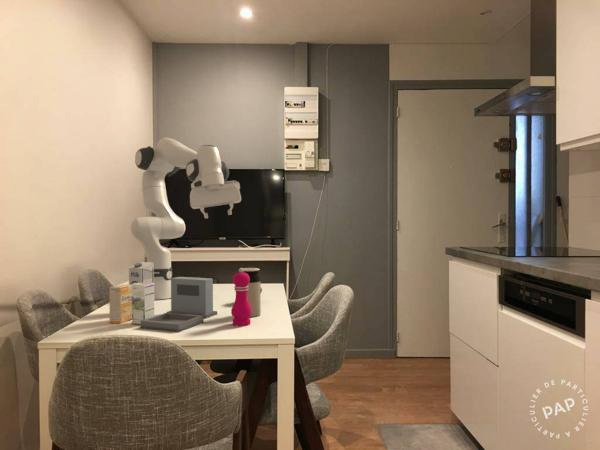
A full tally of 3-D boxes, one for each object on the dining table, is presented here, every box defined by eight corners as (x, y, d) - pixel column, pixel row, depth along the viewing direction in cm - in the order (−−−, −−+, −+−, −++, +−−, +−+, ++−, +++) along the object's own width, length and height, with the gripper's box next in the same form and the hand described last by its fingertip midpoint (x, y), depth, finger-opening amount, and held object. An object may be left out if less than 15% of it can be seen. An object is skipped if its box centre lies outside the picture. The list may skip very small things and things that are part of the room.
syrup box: (155, 321, 159) (155, 282, 159) (144, 325, 153) (144, 284, 153) (142, 320, 161) (142, 281, 160) (131, 324, 155) (131, 283, 155)
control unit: (166, 315, 170) (166, 278, 170) (179, 311, 178) (179, 276, 178) (205, 318, 164) (205, 280, 164) (217, 314, 171) (217, 278, 171)
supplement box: (121, 323, 156) (120, 287, 156) (109, 323, 157) (108, 287, 157) (134, 318, 164) (133, 284, 164) (122, 318, 165) (122, 283, 165)
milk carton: (154, 310, 179) (153, 262, 179) (142, 313, 173) (141, 263, 173) (141, 309, 182) (140, 261, 182) (128, 312, 176) (128, 262, 176)
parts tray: (140, 327, 150) (140, 320, 150) (167, 319, 163) (167, 312, 163) (179, 332, 144) (179, 324, 144) (203, 322, 157) (203, 315, 157)
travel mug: (252, 318, 164) (251, 270, 163) (235, 316, 168) (235, 269, 168) (264, 314, 170) (264, 268, 170) (248, 312, 175) (248, 267, 174)
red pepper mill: (232, 322, 158) (231, 266, 158) (252, 321, 159) (251, 266, 158) (230, 326, 151) (230, 269, 151) (251, 326, 151) (251, 268, 151)
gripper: (238, 181, 181) (244, 214, 179) (188, 188, 177) (193, 221, 175) (238, 177, 175) (244, 210, 172) (187, 184, 171) (191, 218, 169)
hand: (218, 216), depth 174 cm, fingers open, 8 cm apart
